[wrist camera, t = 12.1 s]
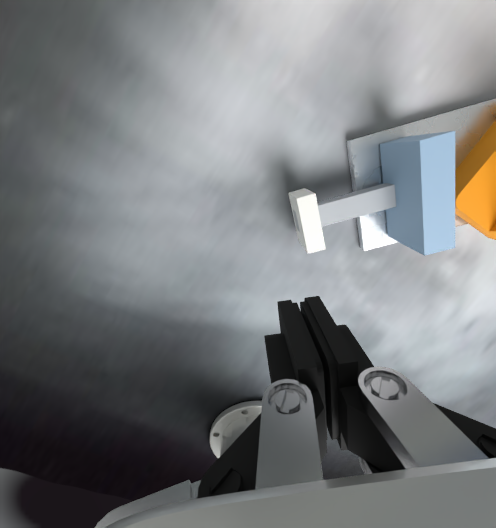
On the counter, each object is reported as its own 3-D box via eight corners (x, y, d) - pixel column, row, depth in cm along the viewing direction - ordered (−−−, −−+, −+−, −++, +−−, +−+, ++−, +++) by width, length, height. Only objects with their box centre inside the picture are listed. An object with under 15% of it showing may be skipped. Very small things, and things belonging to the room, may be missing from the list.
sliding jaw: (412, 229, 29) (455, 247, 23) (302, 258, 29) (317, 283, 24) (407, 136, 25) (455, 130, 20) (283, 171, 26) (296, 175, 20)
